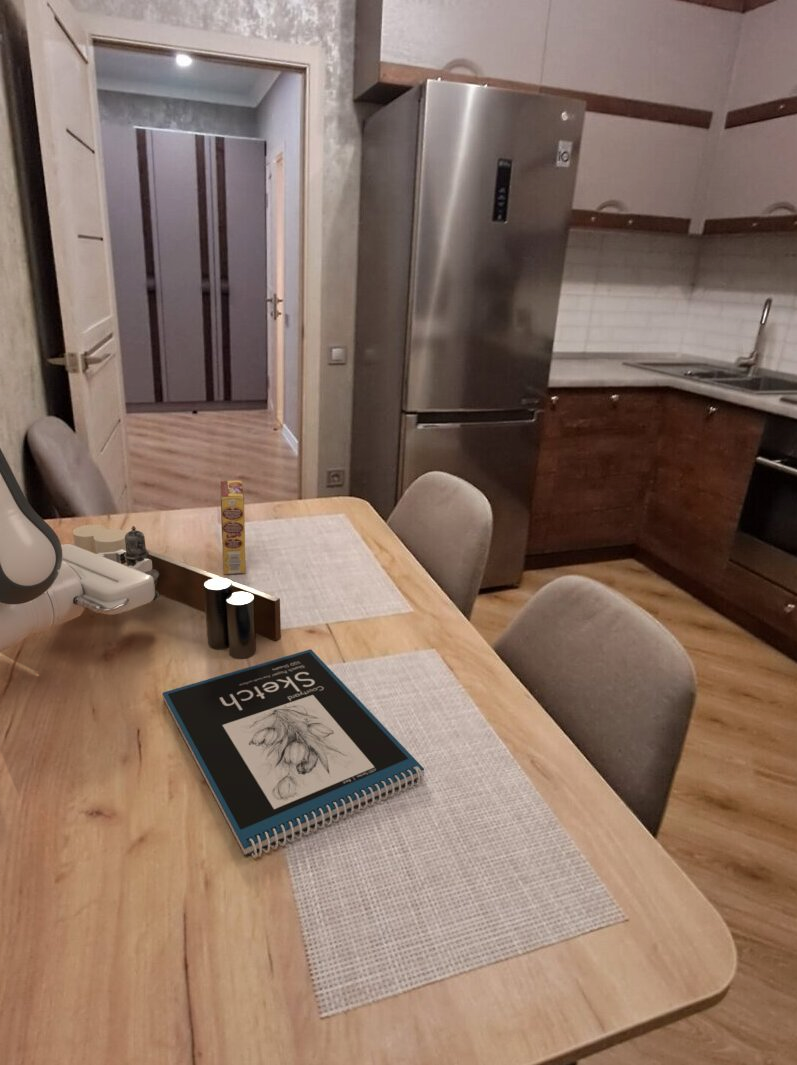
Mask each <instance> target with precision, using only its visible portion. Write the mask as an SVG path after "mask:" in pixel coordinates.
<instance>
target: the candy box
mask: <svg viewBox="0 0 797 1065" xmlns="http://www.w3.org/2000/svg"><path fill="white" fill-rule="evenodd" d="M219 487H220V488H219V489H220V490H219V491H220V492H219V493H220V519H221V520H220V522H221V523H220V524H221V547H222V548H221V549H222V568H223V569H222V570H223V571H222V572H223V573H222V574H223V575H241V574H246V528H245V527H246V524H245V523H246V522H245V521H246V520H245V519H246V518H245V494H244V486H243V481H242V480H237V479H235V480H233V479H232V480H223V481H222V480H221V481H219Z"/></svg>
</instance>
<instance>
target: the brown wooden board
mask: <svg viewBox="0 0 797 1065" xmlns="http://www.w3.org/2000/svg"><path fill="white" fill-rule="evenodd" d="M146 550H147V551H148V552H149V554H148V556H147V559H150V560H151V561H152V569H153V570H156V571H157V572H158V573H159V577H158V579H157V583H156V586H155V590H156V591H158V593H159V595H161V596H163V597H166V598H169V599H171V600H174V601H176V602H178V603H181V604H183V605H185V606H188V607H191V608H193V609H196V610H198V611H201V612H203V613H205V614H206V612H205V599H204V583H205V582H206V581H207V580H209V579H213V578H224V577H223V576H220V575H217V574H215V573H212V572H210V571H206V570H204V569H201V568H198V567H195V566H194V565H190V564H187V563H185V562H182V561H179V560H177V559H173V558H171V557H169V556H166V555H163V554H160V553H157V552H156V551H152V550H149V549H147V548H146ZM229 580H230V581H231V582H232V593H235V592H248V593H251V594H252V595H253V596H254V604H255V628H256V635H259V636H262V637H263V638H267V639H269V640H271V641H273V642H278V641H279V640H280V639H282V630H281V628H282V626H281V625H282V624H281V623H282V622H281V598H280V597H277V596H274V595H272V594H269V593H266V592H264V591H261V590H258V589H255V588H252V587H251V586H248V585H244V584H242V583H239V582H236V581H234V580H231V579H229Z"/></svg>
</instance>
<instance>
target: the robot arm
mask: <svg viewBox="0 0 797 1065" xmlns="http://www.w3.org/2000/svg"><path fill="white" fill-rule="evenodd" d="M4 454H5V453H4V452H3V450H2V448H1V447H0V652H2V651H4V650H8V649H9V648H12V647H14V646H16V645H18V644H19V643H21V642H22V641H23V640H25V639H26V638H27V637H30V636H31V635H35V634H39V633H45V632H47V631H49V630H52V629H54V628H56V627H59V626H61V625H63V624H65V623H67V622H70V621H72V620H74V619H76V618H78V617H80V616H81V615H82V614H83V613H84V611H85V609H89V611H91V612H93V613H96V614H99V613H101V614H103V615H110V616H111V615H118V614H119V615H120V614H122V613H125V612H128V611H131V610H134V609H137V608H139V607H142V606H144V605H146V604H150V603H152V602H151V601H152V600H153V599H154V597H155V585H154V579H153V577H152V576H151V575H148V574H146V573H145V572H148V571H150V570H151V569H152V561H151V560H150V559H147V558H144V557H143V558H141V559H137V560H135V561H136V565H134V566H125V565H123V564H125V563H127V559H126V558H125V557H124V554H125V552H126V550H123V549H121V550H118V551H115V552H105V553H98V554H95V553H92V552H89V551H87V550H84V549H82V548H79V547H77V546H74V544H71V543H64V544H63V543H61V541H60V538H59V536H58V535H57V533H56V531H55V530H54V529H53V528H52V527H51V526H50V525H49V524H48V522H46V521H45V520H44V519H43V518H42V517H41V516H40V515H39V514H38V513H37V512H36V511H35V509H34V508H33V507H32V505H31V504H30V503H29V501H28V499H27V497H26V496H25V494H24V492H23V490H22V488H21V486H20V484H19V482H18V480H17V478H16V476H15V474H14V472H13V470H12V469H11V466H10V465H9V463H8V460H7V459H6V457H5V455H4ZM149 602H150V603H149Z"/></svg>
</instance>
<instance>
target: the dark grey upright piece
mask: <svg viewBox="0 0 797 1065" xmlns="http://www.w3.org/2000/svg"><path fill="white" fill-rule="evenodd" d="M130 528H131V529H130V531H127V532H128V533H127V534H126V535H125V545H126V552H125V554H124V557H125V558H126V559H127V566H134V565H136V561H135V560H137V559H141V558H143V557H144V558H147V556H148V554H149V552H148V551H147V550H148V549H147V547H146V538H145V534H144V533H143V532H142V531H140V530H137V527H136V526H134V525H132V527H130ZM146 549H147V550H146ZM145 573H146V574H148V575H151V576H152V577H153V579H154V585H155V586H156V583H157V579H158V577H159V573H158V572H157V571H156V570H153V569H151V570H150V571H148V572H145ZM159 597H160V594H159V593H158V591H156V590H155V597H154V599H153V600H152V601H151V602H149V603H148V604H150V603H153V602H154V601H156V600H157V599H158V598H159Z"/></svg>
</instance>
